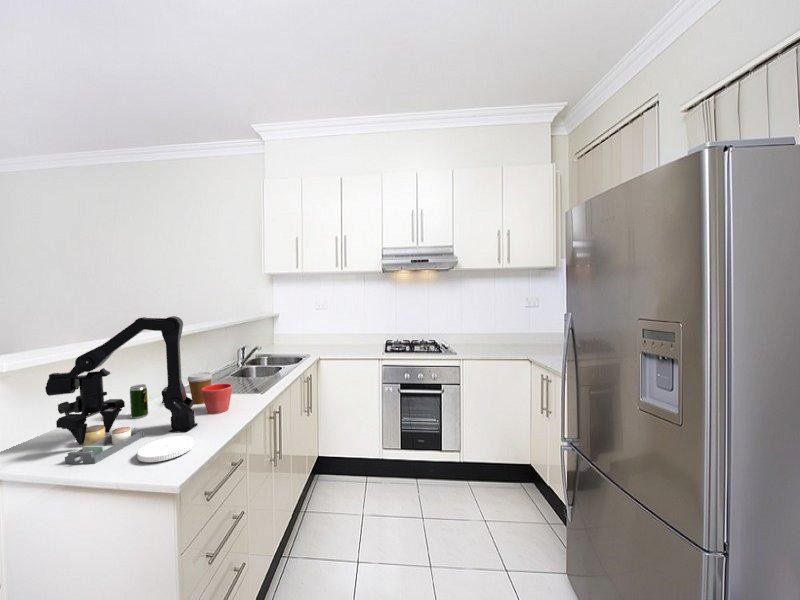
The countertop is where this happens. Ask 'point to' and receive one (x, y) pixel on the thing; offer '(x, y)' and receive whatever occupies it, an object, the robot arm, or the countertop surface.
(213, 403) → the flower pot
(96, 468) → the countertop surface
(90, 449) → the pusher
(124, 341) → the robot arm
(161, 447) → the plastic lid
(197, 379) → the disposable coffee cup
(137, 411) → the beer can
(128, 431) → the cream jar
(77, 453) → the lane
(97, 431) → the amber jar
